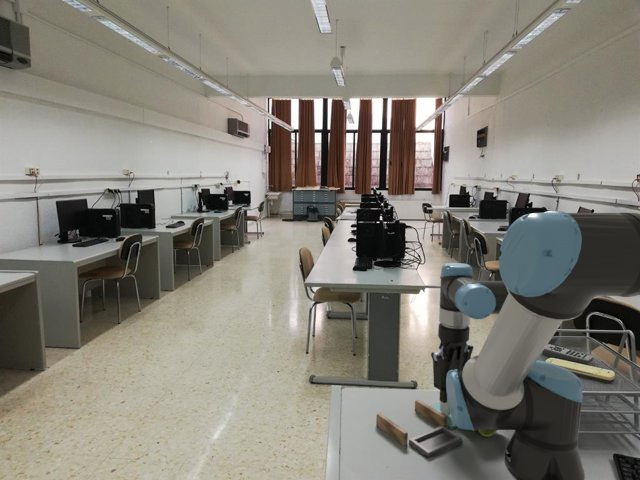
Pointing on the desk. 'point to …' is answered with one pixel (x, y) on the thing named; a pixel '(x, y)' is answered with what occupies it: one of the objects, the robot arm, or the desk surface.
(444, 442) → the tray
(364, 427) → the desk surface
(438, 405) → the pad
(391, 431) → the channel
